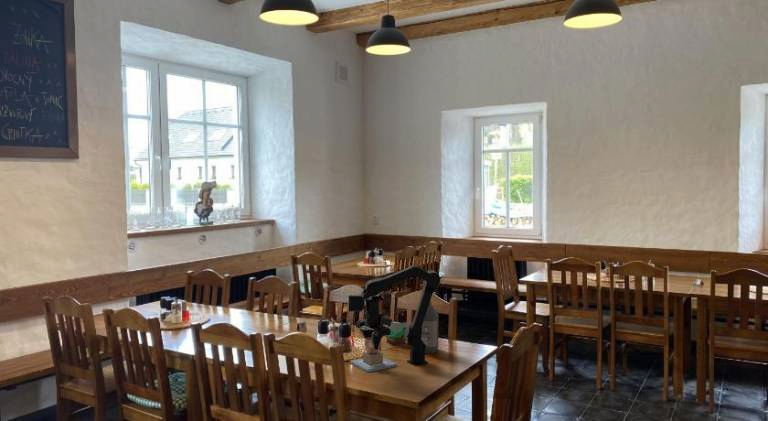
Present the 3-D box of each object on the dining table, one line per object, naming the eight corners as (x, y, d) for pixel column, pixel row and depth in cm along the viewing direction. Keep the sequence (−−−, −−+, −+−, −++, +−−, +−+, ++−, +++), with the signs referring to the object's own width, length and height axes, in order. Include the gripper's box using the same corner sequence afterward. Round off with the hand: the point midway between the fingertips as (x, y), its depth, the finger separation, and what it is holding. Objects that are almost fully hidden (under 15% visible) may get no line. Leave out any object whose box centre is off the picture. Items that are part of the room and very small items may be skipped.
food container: (379, 342, 283) (379, 321, 283) (385, 339, 289) (385, 319, 288) (402, 346, 278) (402, 324, 277) (408, 343, 283) (408, 321, 282)
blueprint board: (396, 366, 249) (396, 354, 249) (367, 372, 242) (367, 360, 241) (378, 357, 261) (378, 346, 261) (350, 363, 253) (349, 351, 253)
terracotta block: (381, 351, 250) (381, 339, 250) (370, 353, 248) (370, 340, 247) (374, 348, 254) (374, 336, 254) (364, 350, 252) (364, 338, 251)
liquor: (436, 353, 266) (436, 286, 264) (415, 352, 268) (415, 285, 266) (438, 347, 275) (438, 282, 273) (418, 346, 277) (418, 281, 275)
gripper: (401, 312, 246) (401, 350, 247) (377, 304, 262) (377, 339, 263) (378, 316, 240) (378, 354, 241) (355, 307, 256) (355, 343, 257)
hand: (373, 348), depth 251 cm, fingers closed on terracotta block, 5 cm apart
